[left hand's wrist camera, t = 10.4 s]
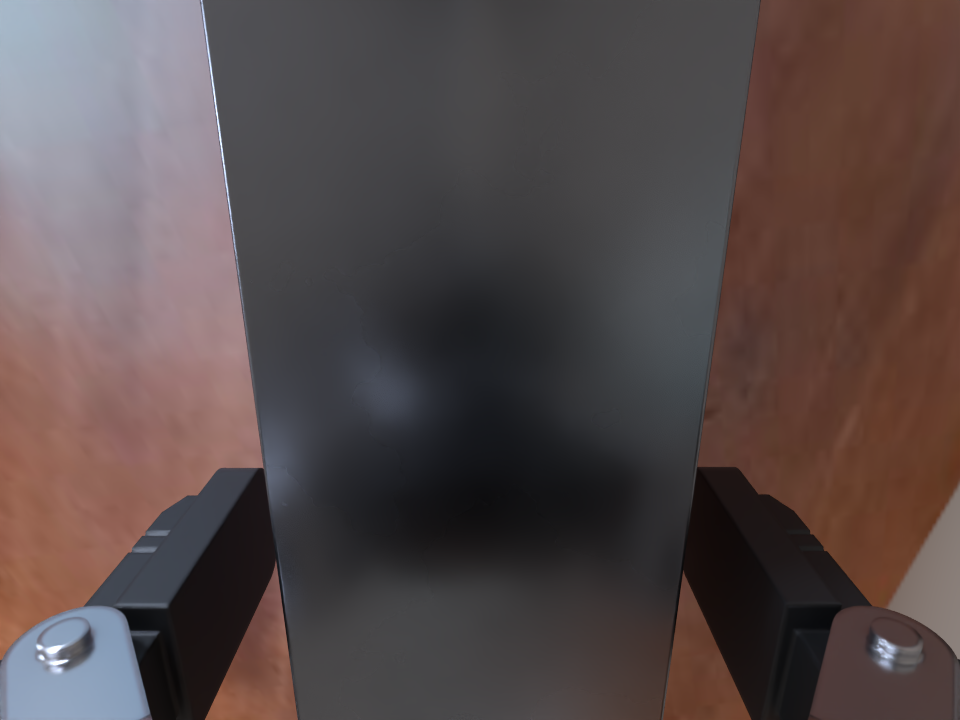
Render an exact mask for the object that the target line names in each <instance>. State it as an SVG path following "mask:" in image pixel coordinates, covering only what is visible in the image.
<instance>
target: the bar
mask: <svg viewBox="0 0 960 720" xmlns="http://www.w3.org/2000/svg"><path fill="white" fill-rule="evenodd" d="M760 2H761V0H200V3H201V11H202V18H203V25H204V33H205V40H206V47H207V55H208V62H209V69H210V77H211V84H212V92H213V99H214V106H215V114H216V121H217V128H218V136H219V143H220V150H221V158H222V165H223V172H224V180H225V187H226V194H227V202H228V209H229V217H230V224H231V231H232V239H233V246H234V253H235V261H236V268H237V275H238V283H239V290H240V297H241V305H242V312H243V319H244V327H245V334H246V341H247V349H248V356H249V364H250V371H251V378H252V386H253V393H254V400H255V408H256V415H257V422H258V430H259V437H260V444H261V452H262V459H263V466H264V474H265V481H266V488H267V496H268V503H269V511H270V518H271V525H272V533H273V540H274V547H275V555H276V562H277V569H278V577H279V584H280V591H281V599H282V606H283V613H284V621H285V628H286V635H287V643H288V650H289V658H290V665H291V672H292V680H293V687H294V694H295V702H296V709H297V716H298V720H663V714H664V706H665V699H666V692H667V684H668V677H669V670H670V662H671V655H672V648H673V640H674V633H675V626H676V618H677V611H678V604H679V596H680V589H681V582H682V574H683V567H684V560H685V552H686V545H687V538H688V530H689V523H690V516H691V508H692V501H693V494H694V486H695V479H696V472H697V464H698V457H699V450H700V442H701V435H702V427H703V420H704V413H705V405H706V398H707V391H708V383H709V376H710V369H711V361H712V354H713V347H714V339H715V332H716V325H717V317H718V310H719V303H720V295H721V288H722V281H723V273H724V266H725V259H726V251H727V244H728V237H729V229H730V222H731V215H732V207H733V200H734V193H735V185H736V178H737V170H738V163H739V156H740V148H741V141H742V134H743V126H744V119H745V112H746V104H747V97H748V90H749V82H750V75H751V68H752V60H753V53H754V46H755V38H756V31H757V24H758V16H759V9H760Z"/></svg>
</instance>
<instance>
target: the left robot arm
mask: <svg viewBox="0 0 960 720" xmlns="http://www.w3.org/2000/svg"><path fill="white" fill-rule="evenodd" d="M275 562H276V555H275V547H274V540H273V533H272V525H271V518H270V511H269V503H268V496H267V488H266V481H265V474H264V469H263V468H220V469H219V470H217V471H216V473H215V474H214V475H213V476H212V478H211V479H210V480H209V482H208V483H207V484H206V486H205V487H204V488H203V489H202V491H201V492H200V493H199V495H198V496H186V497H185V498H183V499H182V500H180V501H179V502H177V503H176V504H174V505H173V506H171V507H169V508H168V509H166V510H165V511H163V512H162V513H161V514H160V515H159V517H158V518H157V519H156V520H155V521H154V523H153V524H152V525H151V526H150V527H149V529H148V530H147V531H146V535H145V536H142V537H141V538H140V539H139V541H138V542H137V543H136V544H135V545H134V547H133V548H132V552H131V553H128V554H127V555H126V556H125V557H124V559H123V560H122V561H121V562H120V563H119V565H118V566H117V567H116V568H115V569H114V571H113V572H112V573H111V574H110V575H109V577H108V578H107V579H106V580H105V581H104V583H103V584H102V585H101V586H100V587H99V589H98V590H97V591H96V592H95V593H94V595H93V596H92V597H91V598H90V599H89V601H88V602H87V603H86V604H85V606H84V607H80V608H76V609H72V610H68V611H65V612H62V613H60V614H57V615H55V616H52V617H50V618H48V619H46V620H44V621H42V622H40V623H39V624H37V625H35V626H34V627H32V628H31V629H29V630H28V631H27V632H25V633H24V634H23V635H22V636H20V637H19V638H18V639H17V640H16V641H15V642H14V643H13V644H12V645H11V646H10V648H9V649H8V650H7V652H6V653H5V655H4V657H3V659H2V660H0V720H205V718H206V716H207V714H208V712H209V709H210V707H211V705H212V703H213V701H214V699H215V697H216V694H217V692H218V690H219V688H220V686H221V684H222V682H223V680H224V677H225V675H226V673H227V671H228V669H229V667H230V665H231V662H232V660H233V658H234V656H235V654H236V652H237V650H238V647H239V645H240V643H241V641H242V639H243V637H244V635H245V632H246V630H247V628H248V626H249V624H250V622H251V620H252V617H253V615H254V613H255V611H256V609H257V607H258V605H259V602H260V600H261V598H262V596H263V594H264V592H265V590H266V587H267V585H268V583H269V581H270V579H271V577H272V574H273V571H274V567H275ZM683 570H684V573H685V576H686V578H687V580H688V583H689V585H690V587H691V589H692V591H693V593H694V596H695V598H696V600H697V602H698V604H699V606H700V609H701V611H702V613H703V615H704V617H705V619H706V622H707V624H708V626H709V628H710V630H711V632H712V635H713V637H714V639H715V641H716V643H717V645H718V648H719V650H720V652H721V654H722V656H723V658H724V661H725V663H726V665H727V667H728V669H729V671H730V674H731V676H732V678H733V680H734V682H735V685H736V687H737V689H738V691H739V693H740V695H741V698H742V700H743V702H744V704H745V706H746V708H747V711H748V713H749V715H750V717H751V719H752V720H960V660H959V659H957V657H956V655H955V653H954V652H953V650H952V649H951V648H950V646H949V645H948V644H947V643H946V642H945V641H944V640H943V639H942V638H941V637H940V636H938V635H937V634H936V633H935V632H933V631H932V630H931V629H929V628H928V627H926V626H925V625H923V624H921V623H920V622H918V621H916V620H914V619H912V618H910V617H908V616H905V615H903V614H900V613H898V612H895V611H891V610H888V609H884V608H880V607H874V606H872V605H871V604H870V603H869V602H868V600H867V599H866V598H865V597H864V595H863V594H862V593H861V592H860V591H859V589H858V588H857V587H856V586H855V585H854V583H853V582H852V581H851V580H850V579H849V577H848V576H847V575H846V574H845V572H844V571H843V570H842V569H841V568H840V566H839V565H838V564H837V563H836V562H835V560H834V559H833V558H832V557H831V555H830V554H829V553H828V552H827V551H824V549H823V546H822V545H821V543H820V542H819V541H818V540H817V538H816V537H815V536H814V535H811V534H810V530H809V529H808V528H807V526H806V525H805V524H804V523H803V521H802V520H801V519H800V518H799V517H798V515H797V514H796V513H795V512H794V511H793V510H791V509H790V508H788V507H787V506H785V505H784V504H782V503H781V502H779V501H778V500H776V499H775V498H773V497H772V496H770V495H758V493H757V492H756V491H755V489H754V488H753V487H752V486H751V484H750V483H749V482H748V480H747V479H746V478H745V476H744V475H743V474H742V472H741V471H740V470H739V469H738V468H736V467H697V472H696V479H695V486H694V494H693V501H692V508H691V516H690V523H689V530H688V538H687V545H686V552H685V560H684V567H683Z"/></svg>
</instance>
